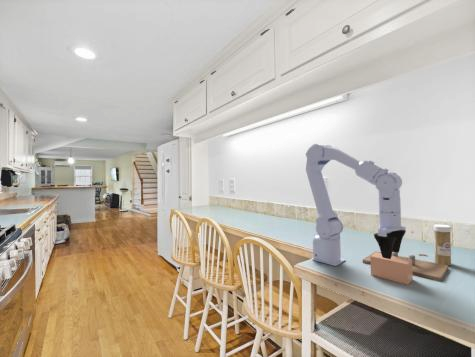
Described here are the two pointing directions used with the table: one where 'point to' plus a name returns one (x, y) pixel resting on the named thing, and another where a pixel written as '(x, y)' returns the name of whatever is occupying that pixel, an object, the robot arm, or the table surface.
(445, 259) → the sprinkles bottle
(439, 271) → the stub board
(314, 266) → the table surface
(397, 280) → the block
